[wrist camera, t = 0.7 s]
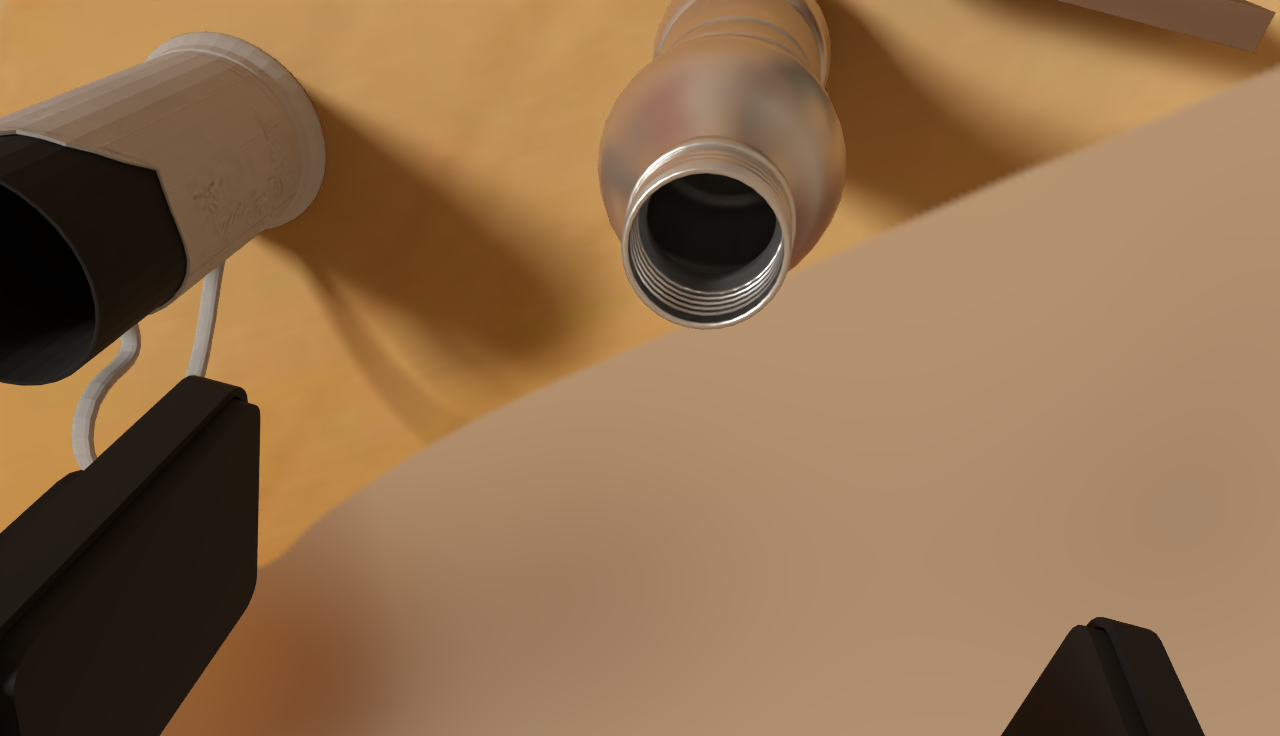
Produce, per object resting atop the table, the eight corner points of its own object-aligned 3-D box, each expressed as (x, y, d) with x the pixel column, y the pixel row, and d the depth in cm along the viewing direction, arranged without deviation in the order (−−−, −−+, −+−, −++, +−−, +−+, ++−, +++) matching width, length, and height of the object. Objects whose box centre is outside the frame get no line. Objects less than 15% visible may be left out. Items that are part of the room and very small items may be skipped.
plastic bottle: (850, -27, 35) (911, 126, 18) (801, 149, 38) (812, 418, 21) (680, -65, 35) (577, 51, 18) (646, 114, 39) (533, 353, 21)
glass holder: (304, 32, 39) (66, 141, 26) (361, 338, 46) (196, 542, 33) (107, 30, 40) (-216, 133, 27) (192, 329, 47) (-31, 523, 34)
